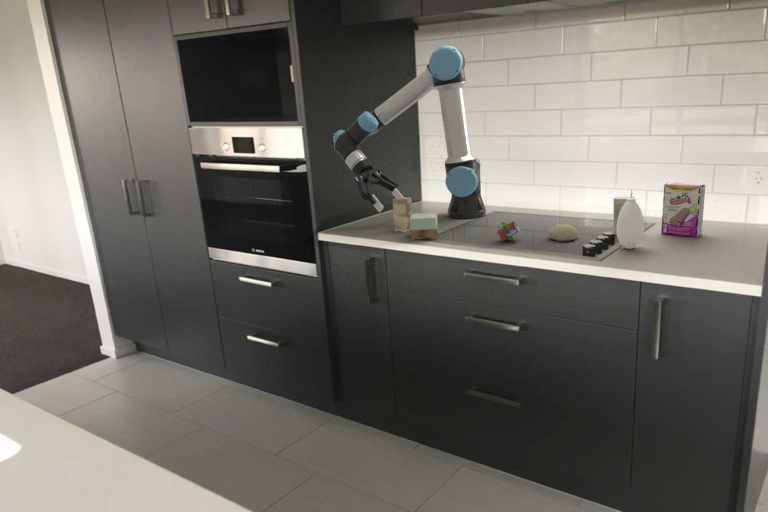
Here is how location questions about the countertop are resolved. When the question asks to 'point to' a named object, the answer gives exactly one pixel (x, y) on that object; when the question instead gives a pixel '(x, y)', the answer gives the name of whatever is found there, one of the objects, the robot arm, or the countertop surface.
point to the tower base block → (424, 234)
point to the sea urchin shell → (563, 232)
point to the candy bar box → (683, 209)
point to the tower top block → (423, 221)
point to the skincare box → (618, 209)
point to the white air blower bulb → (630, 224)
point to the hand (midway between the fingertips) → (393, 206)
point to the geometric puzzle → (508, 231)
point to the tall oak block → (402, 213)
